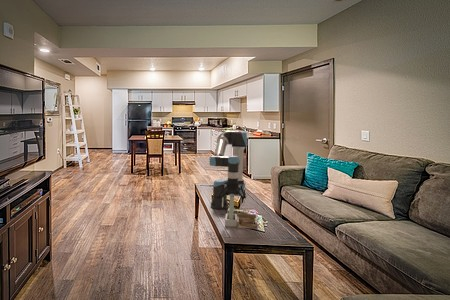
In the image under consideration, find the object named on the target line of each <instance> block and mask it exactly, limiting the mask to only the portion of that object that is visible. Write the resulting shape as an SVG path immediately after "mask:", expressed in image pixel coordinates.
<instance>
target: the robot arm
mask: <svg viewBox="0 0 450 300" xmlns="http://www.w3.org/2000/svg"><path fill="white" fill-rule="evenodd" d="M228 145H230V146H231V148H232V149H233V151H232V153H233V154H232V155H229V156H225V152H226V147H227V146H228ZM248 145H249V144H248V135H247V132H246V131H243V130H225V131H223V132H221V133H220V134H219V135H218V137H217V138H216V147H215V150H214V153H213V155H210V156H209V161H208V162H209V166H211V167H223V168H227V178H222V179H220V178H219V179H215V180H214V181H213V185H212V187H213V189H212V199H211V202H210V208H212V209H216V210H226V209H229V205H230V204H229V202H228V196H230V194H234V197H240V209H242V204H244V199H247V195H246V194H245V189H246V182H245V180H244V178H243V169H244V154H245V153H244V151H245V149H246V148H247V146H248Z"/></svg>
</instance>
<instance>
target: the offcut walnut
mask: <svg viewBox="0 0 450 300" xmlns="http://www.w3.org/2000/svg"><path fill="white" fill-rule="evenodd" d="M253 222H254V221H253V220H251V221H249V222H242V221H241V220H240V222H239V223H240V224H241V225H247V224H253Z"/></svg>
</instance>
